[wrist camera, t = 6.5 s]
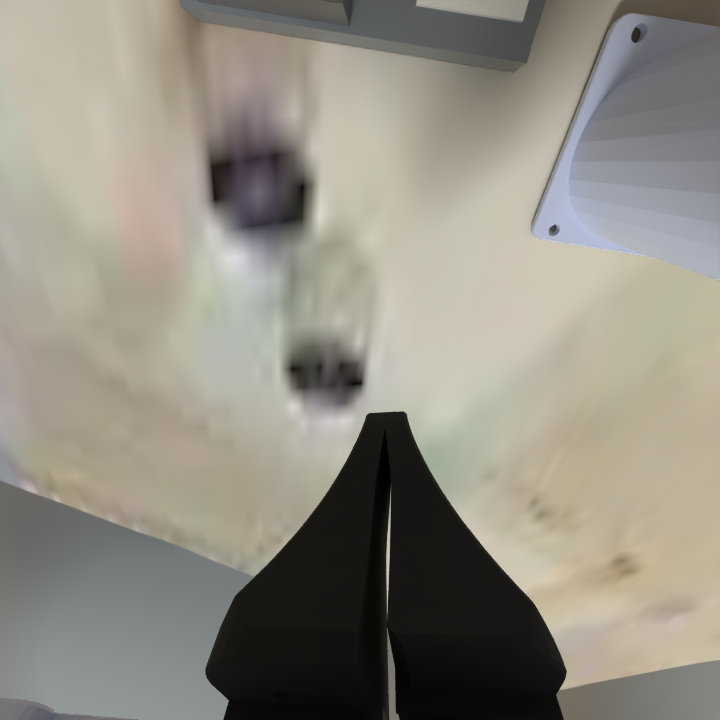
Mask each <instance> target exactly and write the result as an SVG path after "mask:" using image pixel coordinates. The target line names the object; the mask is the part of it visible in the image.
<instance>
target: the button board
mask: <svg viewBox="0 0 720 720" xmlns="http://www.w3.org/2000/svg"><path fill="white" fill-rule="evenodd" d="M544 3H545V0H180V6H181V7H182V8H183V9H184V10H186V11H187V12H188V13H190V14H191V15H192V16H194V17H195V18H196V19H198V20H199V21H200V22H205V23H211V24H218V25H224V26H230V27H236V28H242V29H248V30H255V31H261V32H267V33H273V34H279V35H285V36H292V37H298V38H304V39H310V40H316V41H322V42H329V43H335V44H341V45H347V46H353V47H359V48H365V49H372V50H378V51H384V52H390V53H396V54H402V55H409V56H415V57H421V58H427V59H433V60H439V61H446V62H452V63H458V64H464V65H470V66H476V67H482V68H489V69H495V70H501V71H507V72H514V71H516V70H517V69H518V68H520V67H521V66H523V65H524V64H525V63H526V62H527V59H528V55H529V52H530V49H531V46H532V42H533V39H534V36H535V33H536V29H537V26H538V23H539V20H540V16H541V13H542V10H543V7H544Z"/></svg>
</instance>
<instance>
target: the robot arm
mask: <svg viewBox="0 0 720 720" xmlns="http://www.w3.org/2000/svg"><path fill="white" fill-rule="evenodd" d="M635 27H638V28H639V29H640V37H639V39H638V41H637V42H636V43H634V42H633V41H632V39H631V35H632V31H633V30H634V28H635ZM553 225H556V231H555V232H554V233H552V234H549V233H548V231H549V229H550V227H551V226H553ZM531 234H532V235H533V236H534V237H535V238H538V239H542V240H548V241H554V242H560V243H567V244H573V245H579V246H586V247H592V248H598V249H605V250H611V251H617V252H623V253H630V254H636V255H642V256H649V257H654V258H656V259H659V260H662V261H665V262H667V263H670V264H673V265H676V266H678V267H681V268H684V269H687V270H690V271H692V272H695V273H698V274H701V275H703V276H706V277H709V278H712V279H715V280H717V281H720V27H718V26H712V25H706V24H700V23H694V22H688V21H681V20H675V19H669V18H663V17H657V16H651V15H645V14H639V13H627V14H625V15H623V16H622V17H620V18H618V19H617V20H616V21H615V22H614V23H613V24H612V25H611V27H610V28H609V30H608V32H607V35H606V37H605V40H604V42H603V45H602V47H601V50H600V53H599V55H598V58H597V60H596V63H595V65H594V68H593V70H592V73H591V75H590V78H589V81H588V83H587V86H586V88H585V91H584V93H583V96H582V98H581V101H580V103H579V106H578V109H577V111H576V114H575V116H574V119H573V121H572V124H571V126H570V129H569V131H568V134H567V137H566V139H565V142H564V144H563V147H562V149H561V152H560V154H559V157H558V159H557V162H556V165H555V167H554V170H553V172H552V175H551V177H550V180H549V182H548V185H547V187H546V190H545V193H544V195H543V198H542V200H541V203H540V205H539V208H538V210H537V213H536V215H535V218H534V221H533V223H532V226H531ZM390 492H391V531H390V566H389V591H388V614H387V589H386V549H387V532H388V519H389V506H390ZM387 628H388V633H389V638H390V644H391V649H392V654H393V659H394V664H395V681H396V682H395V686H396V687H395V690H396V714H399V719H400V720H563V716H562V713H561V709H560V706H559V703H558V700H557V697H556V694H557V692H558V691H559V689H560V687H561V686H562V684H563V682H564V680H565V678H566V672H567V671H566V668H565V665H564V662H563V659H562V657H561V655H560V652H559V650H558V648H557V646H556V643H555V641H554V639H553V637H552V635H551V633H550V631H549V629H548V627H547V625H546V623H545V622H544V620H543V618H542V616H541V615H540V613H539V611H538V609H537V608H536V606H535V604H534V603H533V602H532V601H531V599H530V598H529V597H528V596H527V595H526V594H525V593H524V592H523V591H522V590H521V589H520V588H519V587H518V586H517V585H516V584H515V583H514V581H513V580H512V579H511V578H510V577H509V576H508V575H507V574H506V573H505V572H504V571H503V569H502V568H501V567H500V566H499V565H498V564H497V563H496V561H495V560H494V559H493V558H492V557H491V556H490V554H489V553H488V552H487V551H486V550H485V549H484V547H483V546H482V545H481V544H480V542H479V541H478V540H477V538H476V537H475V536H474V535H473V533H472V532H471V531H470V530H469V528H468V527H467V526H466V525H465V523H464V522H463V521H462V519H461V518H460V517H459V515H458V514H457V512H456V511H455V510H454V508H453V507H452V505H451V504H450V502H449V501H448V499H447V498H446V496H445V495H444V493H443V492H442V490H441V489H440V487H439V485H438V484H437V482H436V480H435V479H434V477H433V475H432V473H431V472H430V470H429V468H428V466H427V464H426V463H425V461H424V459H423V457H422V455H421V453H420V450H419V448H418V446H417V444H416V442H415V439H414V437H413V434H412V432H411V429H410V426H409V423H408V419H407V414H406V413H405V412H383V413H369V414H368V415H367V416H366V419H365V422H364V424H363V427H362V430H361V432H360V434H359V437H358V439H357V441H356V443H355V445H354V447H353V449H352V451H351V453H350V455H349V457H348V459H347V461H346V463H345V464H344V466H343V468H342V469H341V471H340V473H339V475H338V476H337V478H336V480H335V481H334V483H333V484H332V486H331V487H330V489H329V491H328V492H327V494H326V495H325V496H324V498H323V499H322V501H321V502H320V503H319V505H318V506H317V508H316V509H315V510H314V511H313V513H312V514H311V515H310V517H309V518H308V519H307V521H306V522H305V523H304V524H303V526H302V527H301V528H300V529H299V530H298V532H297V533H296V534H295V535H294V536H293V537H292V538H291V539H290V541H289V542H288V543H287V544H286V545H285V546H284V547H283V548H282V549H281V551H280V552H279V553H278V554H277V555H276V556H275V557H274V558H273V559H272V560H271V561H270V562H269V563H268V564H267V566H265V567H264V568H263V569H262V570H261V571H260V572H259V573H258V574H257V575H256V576H255V577H254V578H253V579H252V580H251V581H250V582H249V583H248V584H247V585H246V586H245V587H244V588H243V589H242V590H241V591H240V592H239V593H238V594H237V595H236V596H235V597H234V599H233V602H232V604H231V606H230V608H229V610H228V612H227V614H226V616H225V619H224V621H223V623H222V625H221V627H220V630H219V633H218V635H217V638H216V641H215V644H214V647H213V649H212V652H211V655H210V658H209V660H208V663H207V666H206V676H207V679H208V680H209V682H210V683H211V684H212V685H213V686H214V687H215V688H216V689H217V690H218V691H220V692H221V693H222V694H223V695H224V696H225V697H226V698H227V699H228V700H229V703H228V706H227V709H226V713H225V716H224V719H223V720H389V695H388V654H387V653H388V650H387ZM0 720H135V719H125V718H113V717H101V716H89V715H78V714H66V713H55V712H54V710H53V709H51V708H50V707H48V706H45V705H43V704H40V703H37V702H33V701H27V700H18V699H6V698H0ZM136 720H137V719H136Z"/></svg>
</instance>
